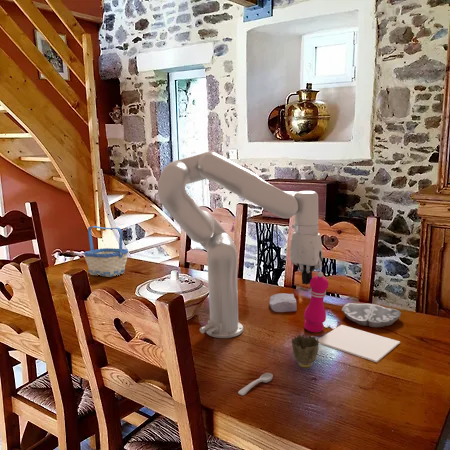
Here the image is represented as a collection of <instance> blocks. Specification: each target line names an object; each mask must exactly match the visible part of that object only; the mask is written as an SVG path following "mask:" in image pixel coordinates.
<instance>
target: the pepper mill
mask: <svg viewBox="0 0 450 450" xmlns="http://www.w3.org/2000/svg"><path fill="white" fill-rule="evenodd" d="M309 287H310V292H309V294H310V295H311V296H310V300H309V303H308V305H307V306H306V307H305V310H304V313H303V318H304V324H303V327H304V329H305V330H306V331H308V332H310V333H320V332H323V330H324V322H326V320H327V313H326V309H325V306H324V298H325V297H326V295H327V292H326V291H327V290H328V288H329V281H328V278H326V277H325V276H324V273H323V272H321V271H319V272H317V275H315V276H312V279H311V280H310V284H309Z"/></svg>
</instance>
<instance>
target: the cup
mask: <svg viewBox="0 0 450 450" xmlns="http://www.w3.org/2000/svg"><path fill="white" fill-rule="evenodd" d="M318 339H319V338H316V336H311V335H308V337H305V335H304V334H303V335H300V334H298V335H297V336H294V337H292V339H291V347H292V353H293V354H292V355H293V357H294V360H295V361H296V362H297V363H298V366H299V367H300V368H301V369H302V370H309V369H310V368H312V365H313V363H314V362H315V361H316V359H317V357H318V352H319V345H320V344H319V341H318Z"/></svg>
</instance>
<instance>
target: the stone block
mask: <svg viewBox="0 0 450 450" xmlns="http://www.w3.org/2000/svg"><path fill="white" fill-rule="evenodd" d="M269 306H270V309H271V310H272V311H273V312H275V313H276V312H277V313H284V312H285V313H286V312H296V311H297V299H296V298H295V295H294V293H276V294H272V295H271V296H270V298H269Z"/></svg>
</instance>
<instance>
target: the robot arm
mask: <svg viewBox="0 0 450 450" xmlns="http://www.w3.org/2000/svg"><path fill="white" fill-rule="evenodd" d="M204 180H208V181H210V182H212V183H213V184H216V185H218V186H219V187H221V188H223V189H226V190H227V191H229V192H231V193H232V194H234V195H237V196H239V198H242V199H244V200H246V201H248V202H250V203H253V204H255V205H256V206H258V207H260V208H262V209H263V210H265V211H267V212H270V213H271V214H273V215H275V216H277V217H279V218H282V219H290V218H292V217H293V216H294V223H293V224H292V225H291V228H292V229H294V232H292V234H291V241H290V249H289V250H290V251H289V255H290V256H289V260H290V261H291V262H292V264H293V265H294V266H297V267H298V269H299V271H300V272H301V280H302V281H301V283H302V284H303V285H306V286H307V285H310V280H311V279H312V278H313V272H315V271H314V270H319V269H322V268H323V264H322V263H323V256H324V255H323V243H322V237H321V233H319V194H318V193H317V192H316V191H313V190H301V191H286V190H282V189H280V188H278V187H276V186H274V185H272V184H270V183H269V182H267V181H266V180H264V179H263V178H261V177H260V176H258V175H257V174H255V173H254V172H252V171H250V170H249V169H247V168H245V167H243V166H241V165H239V164H237V163H236V162H233V161H231V160H230V159H228V158H226V157H224V156H222V155H220V154H218V153H216V152H215V151H207V152H203V153H200V154H196V155H193V156H190V157H189V156H188V157H186V158H182V159H178V160H174V161H171V162H169V163H168V164H167V165H166V166H164V168H163V169H162V171H161V173H160V175H159V179H158V182H157V195H158V198H159V201H160V203H161V205H162V206H163V208H164V209H165V210H166V211H167V213H168V214H169V215H170V216H171V217H172V218H173V220H174V221H175V222H176V224H177V225H178V226H179V227H180V228H181V229H182V230H183V231H184V233H185V234H186V235H187V236H188V237H189V239H190V240H191V241H193V242H195V243H198V244H200V245H201V246H202V247H203V249H204V250H206V256H207V257H206V260H207V280H208V302H209V303H208V305H209V307H208V308H209V319H208V320H207V323H206V325H203V326H201V327H199V332H200V333H201V334H204V333H206V334H207V335H208V336H210V337H213V338H217V339H231V338H234V337H237V336H239V335H241V334H242V333H243V332H244V325H243V324H242V323H240V322H239V299H238V296H239V295H238V294H239V293H238V290H239V289H238V251H237V247H236V244H235V241H234V240H233V238H232V237H231V236H230V234H229V233H228V232H227V231H226V230H225V229H224V227H223V226H222V225H221V224H220V222H218V221H217V219H215V217H214V216H213V215H212V214H211V213H210V212H208V211H207V210H203V209H201V208H200V207H199V205H197V203H196V202H195V201H194V200H193V198H192V197H191V196H190V195H189V194H188V193H187V190H186V186H187V185H188V184H193V183H196V182H199V181H204Z"/></svg>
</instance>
